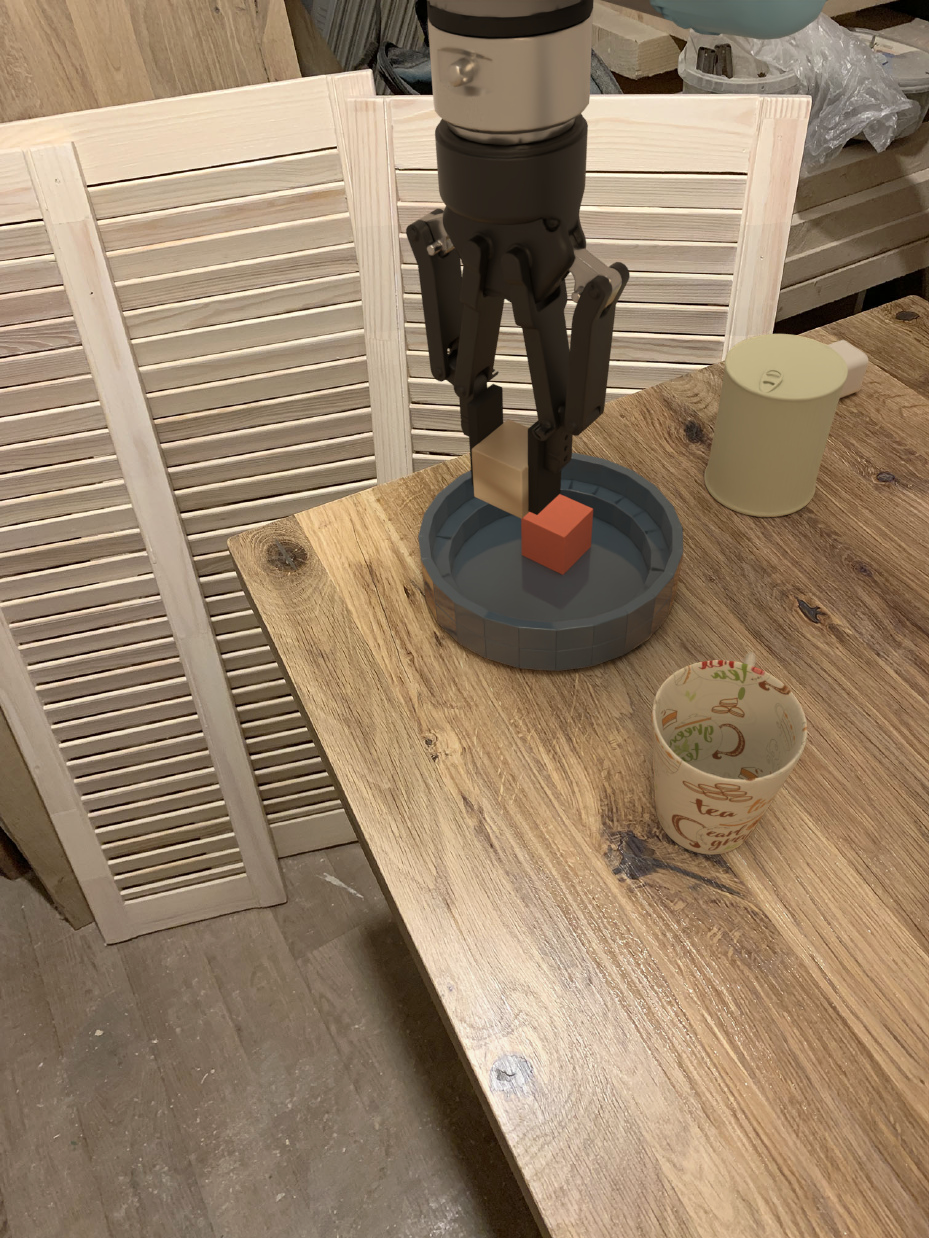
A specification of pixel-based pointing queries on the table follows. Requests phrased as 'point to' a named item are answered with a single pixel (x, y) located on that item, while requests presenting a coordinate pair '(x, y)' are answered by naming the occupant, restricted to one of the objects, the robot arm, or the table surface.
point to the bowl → (553, 572)
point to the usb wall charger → (851, 366)
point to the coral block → (557, 533)
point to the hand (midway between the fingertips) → (515, 488)
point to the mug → (722, 751)
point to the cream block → (503, 468)
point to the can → (773, 423)
